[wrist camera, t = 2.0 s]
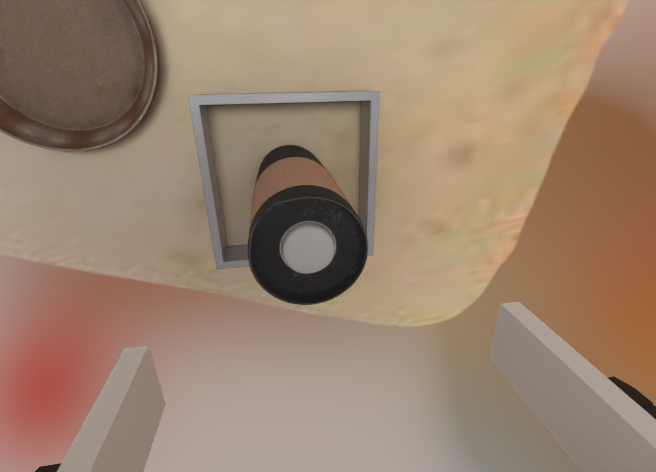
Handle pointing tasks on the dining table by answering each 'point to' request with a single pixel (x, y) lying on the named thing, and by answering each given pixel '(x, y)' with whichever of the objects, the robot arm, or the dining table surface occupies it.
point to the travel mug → (303, 230)
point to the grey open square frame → (198, 103)
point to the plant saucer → (74, 71)
